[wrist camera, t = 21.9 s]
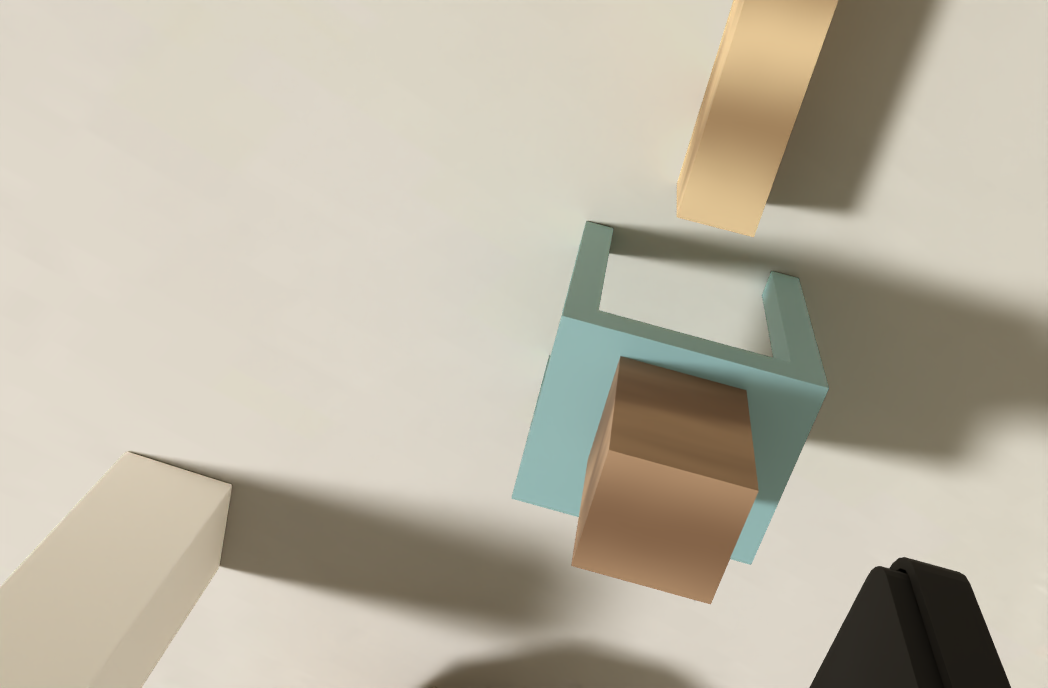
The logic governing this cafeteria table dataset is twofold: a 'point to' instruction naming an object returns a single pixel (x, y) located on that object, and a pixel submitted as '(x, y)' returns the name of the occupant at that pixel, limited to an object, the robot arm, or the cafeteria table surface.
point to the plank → (750, 110)
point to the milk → (113, 579)
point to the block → (667, 481)
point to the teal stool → (601, 338)
